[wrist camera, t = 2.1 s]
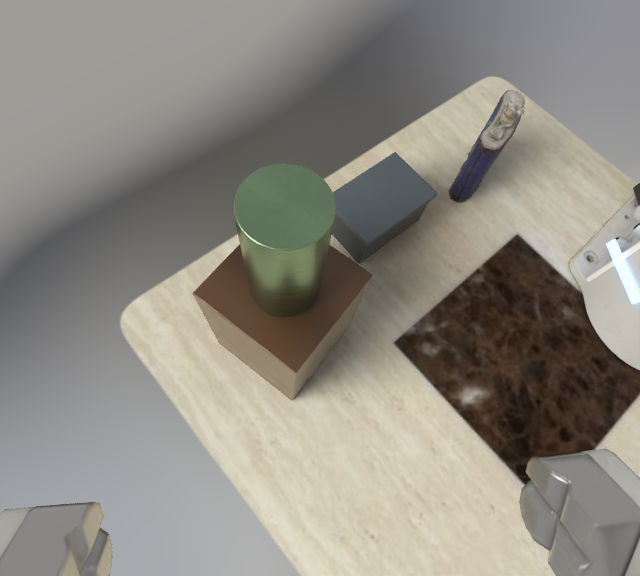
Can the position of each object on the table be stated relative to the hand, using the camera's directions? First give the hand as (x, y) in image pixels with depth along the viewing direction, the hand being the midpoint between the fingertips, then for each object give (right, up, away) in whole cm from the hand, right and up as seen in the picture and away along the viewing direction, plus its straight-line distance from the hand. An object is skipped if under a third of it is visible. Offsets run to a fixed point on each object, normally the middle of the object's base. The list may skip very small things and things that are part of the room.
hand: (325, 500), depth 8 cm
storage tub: (+6, +11, +40) cm, 42 cm away
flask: (+18, +17, +43) cm, 50 cm away
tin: (-3, +4, +22) cm, 23 cm away
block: (-4, -1, +34) cm, 34 cm away
